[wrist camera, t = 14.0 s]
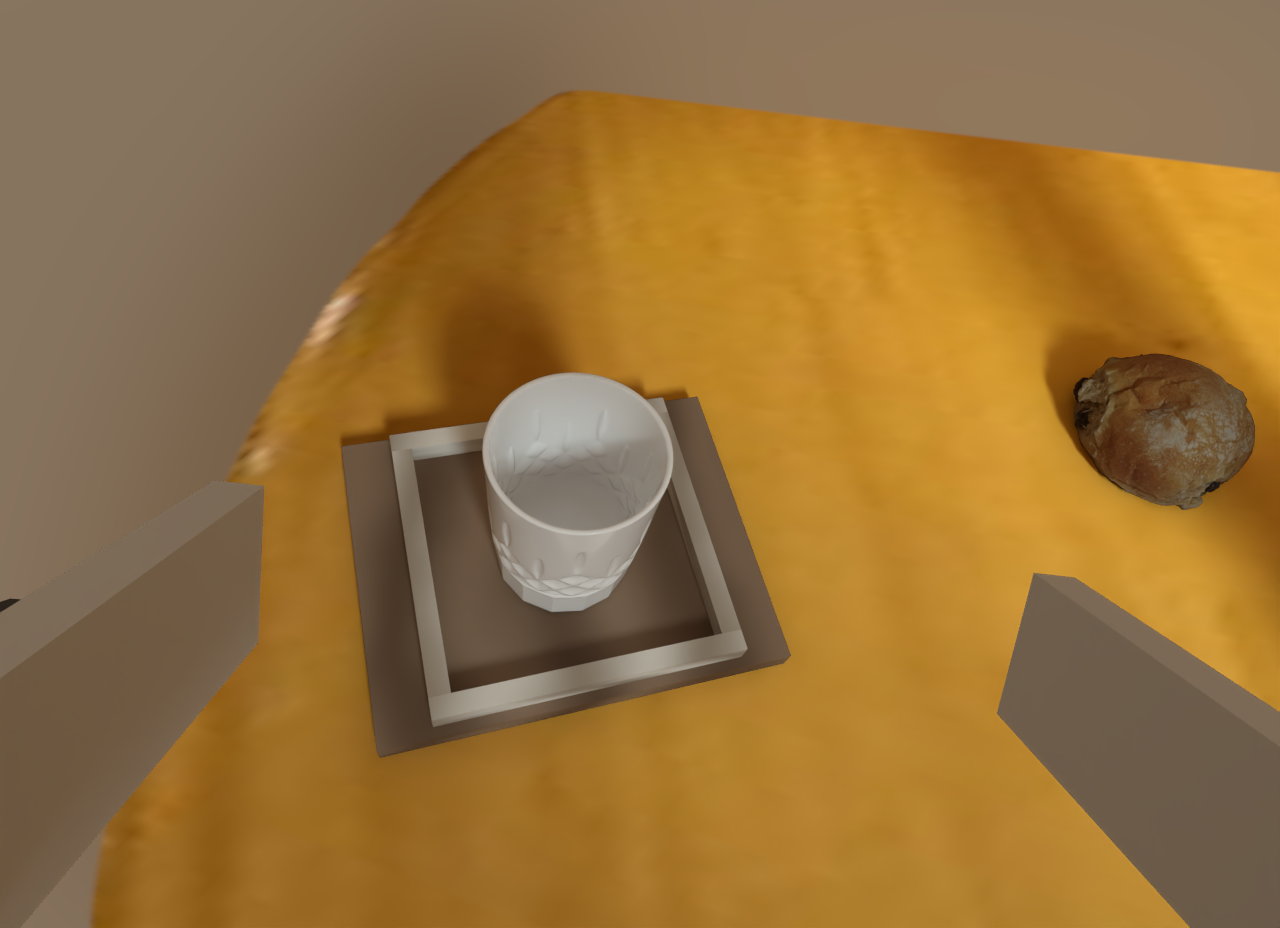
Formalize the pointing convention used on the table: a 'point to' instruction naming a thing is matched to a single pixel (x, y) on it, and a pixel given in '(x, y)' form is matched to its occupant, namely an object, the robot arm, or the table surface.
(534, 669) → the keeper board
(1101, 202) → the table surface
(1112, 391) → the bread roll
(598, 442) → the white cup
